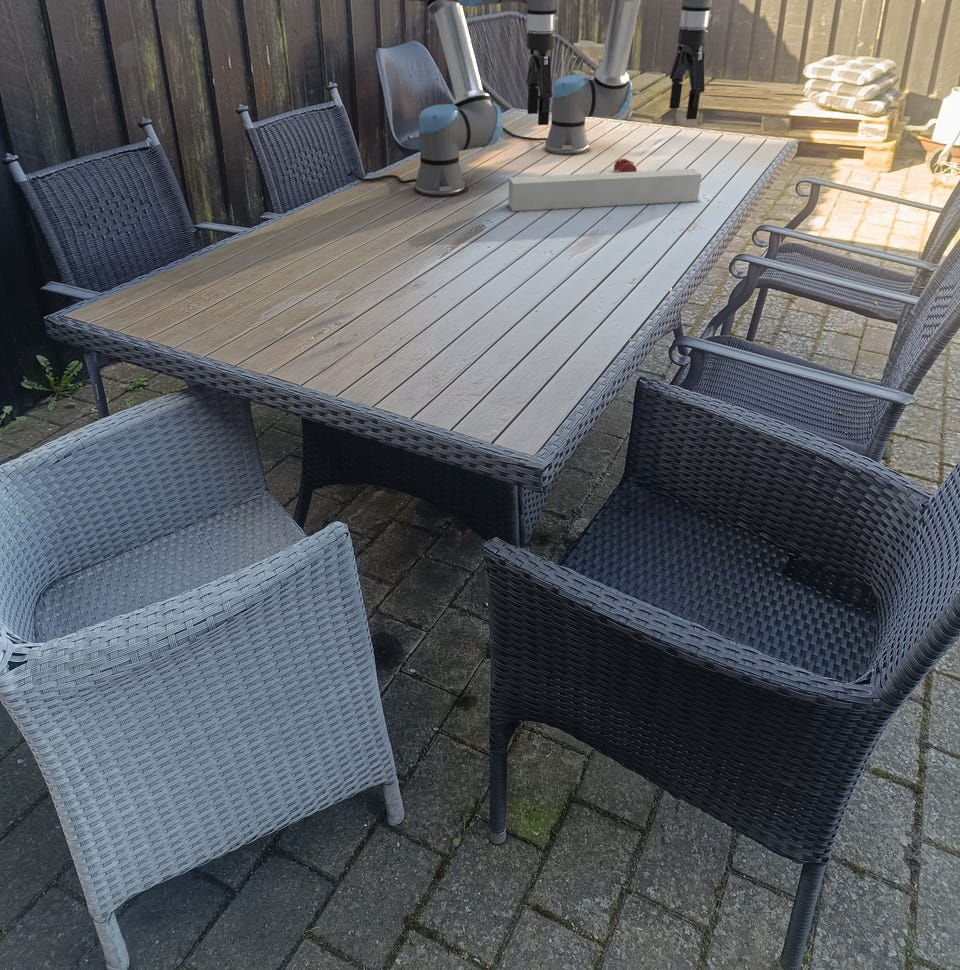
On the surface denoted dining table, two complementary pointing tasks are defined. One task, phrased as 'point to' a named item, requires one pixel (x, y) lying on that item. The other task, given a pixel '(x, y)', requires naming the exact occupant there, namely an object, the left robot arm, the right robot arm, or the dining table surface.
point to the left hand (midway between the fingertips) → (537, 119)
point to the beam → (603, 189)
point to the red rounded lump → (624, 166)
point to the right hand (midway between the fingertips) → (682, 113)
